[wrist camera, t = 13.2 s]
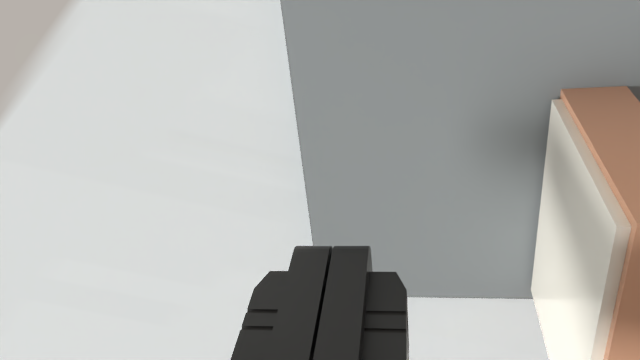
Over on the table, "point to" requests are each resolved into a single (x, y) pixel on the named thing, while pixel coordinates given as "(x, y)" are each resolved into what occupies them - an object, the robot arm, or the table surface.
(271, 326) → the robot arm
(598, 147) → the tile
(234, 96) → the table surface
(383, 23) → the mat
